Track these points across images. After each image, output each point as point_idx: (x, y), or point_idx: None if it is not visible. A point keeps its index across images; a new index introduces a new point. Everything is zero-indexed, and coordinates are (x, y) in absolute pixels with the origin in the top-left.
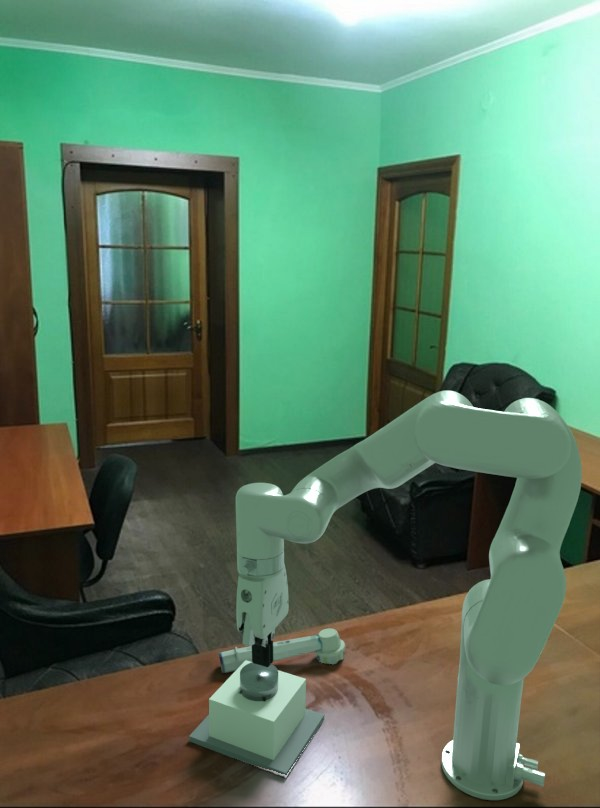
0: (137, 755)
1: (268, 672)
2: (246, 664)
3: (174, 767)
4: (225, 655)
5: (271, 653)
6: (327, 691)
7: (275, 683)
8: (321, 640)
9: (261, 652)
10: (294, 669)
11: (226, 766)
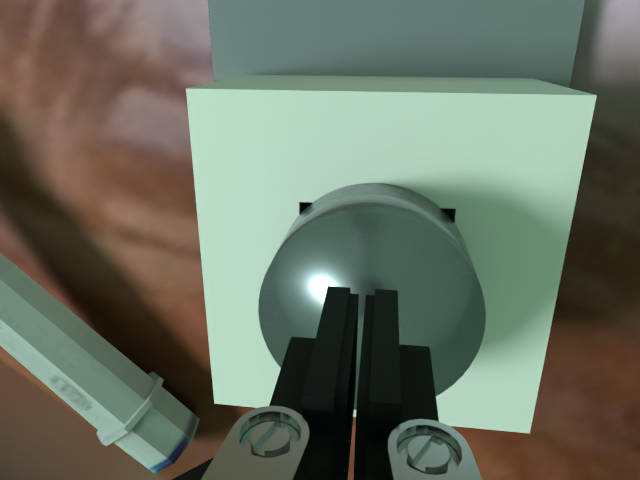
0: (615, 465)
1: (339, 275)
2: (238, 389)
3: (632, 361)
4: (155, 452)
5: (344, 331)
6: (69, 59)
7: (381, 204)
8: None
9: (437, 410)
10: (40, 224)
11: (580, 225)
